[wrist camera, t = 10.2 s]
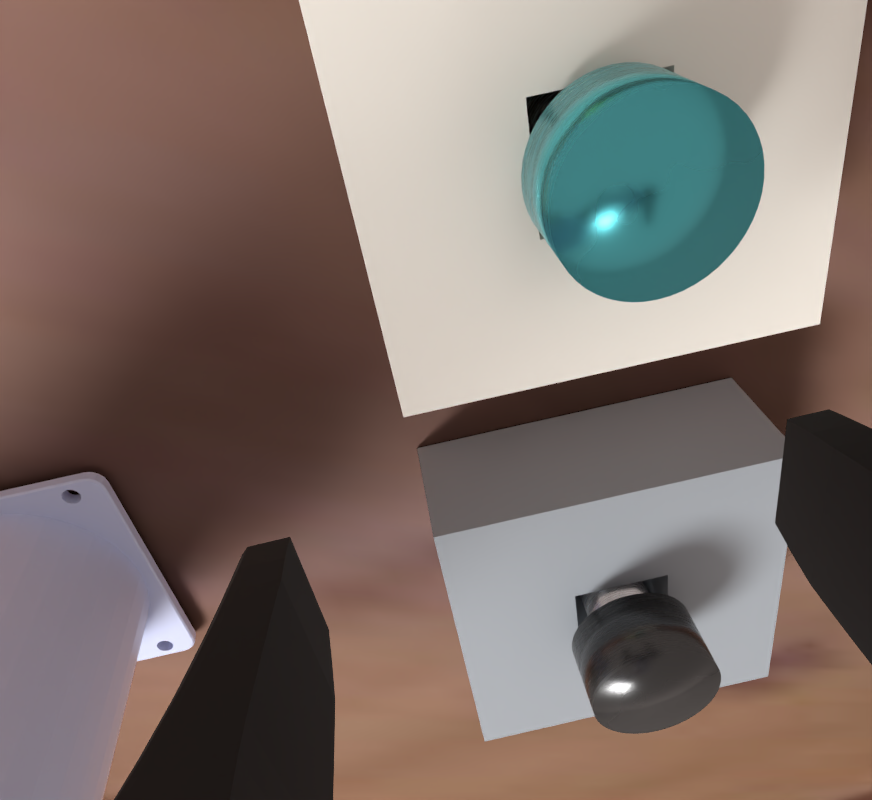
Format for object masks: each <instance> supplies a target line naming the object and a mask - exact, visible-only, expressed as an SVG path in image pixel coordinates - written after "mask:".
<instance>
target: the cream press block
mask: <svg viewBox="0 0 872 800" xmlns="http://www.w3.org/2000/svg"><path fill="white" fill-rule="evenodd" d="M867 1H868V0H299V3H300V7H301V11H302V15H303V19H304V23H305V27H306V31H307V35H308V39H309V43H310V47H311V51H312V55H313V59H314V63H315V67H316V71H317V75H318V79H319V83H320V87H321V91H322V95H323V99H324V103H325V107H326V110H327V114H328V118H329V122H330V126H331V130H332V134H333V138H334V142H335V146H336V150H337V154H338V158H339V162H340V166H341V170H342V174H343V178H344V182H345V186H346V190H347V194H348V198H349V202H350V206H351V210H352V214H353V218H354V222H355V226H356V230H357V234H358V238H359V242H360V246H361V250H362V254H363V258H364V262H365V266H366V270H367V274H368V278H369V282H370V286H371V290H372V294H373V298H374V302H375V306H376V310H377V314H378V318H379V322H380V326H381V330H382V334H383V338H384V342H385V346H386V350H387V354H388V358H389V362H390V366H391V370H392V373H393V377H394V381H395V385H396V389H397V393H398V397H399V401H400V405H401V409H402V413H403V417H408V416H412V415H417V414H421V413H425V412H430V411H434V410H439V409H443V408H448V407H452V406H457V405H461V404H466V403H470V402H475V401H479V400H483V399H488V398H492V397H497V396H501V395H506V394H510V393H515V392H519V391H524V390H528V389H533V388H537V387H541V386H546V385H550V384H555V383H559V382H564V381H568V380H573V379H577V378H582V377H586V376H591V375H595V374H599V373H604V372H608V371H613V370H617V369H622V368H626V367H631V366H635V365H640V364H644V363H649V362H653V361H657V360H662V359H666V358H671V357H675V356H680V355H684V354H689V353H693V352H698V351H702V350H707V349H711V348H715V347H720V346H724V345H729V344H733V343H738V342H742V341H747V340H751V339H756V338H760V337H765V336H769V335H773V334H778V333H782V332H787V331H791V330H796V329H800V328H805V327H809V326H814V325H818V324H820V320H821V313H822V306H823V299H824V293H825V286H826V279H827V272H828V265H829V259H830V252H831V245H832V238H833V232H834V225H835V218H836V211H837V204H838V198H839V191H840V184H841V177H842V170H843V164H844V157H845V150H846V143H847V137H848V130H849V123H850V116H851V109H852V103H853V96H854V89H855V82H856V75H857V69H858V62H859V55H860V48H861V42H862V35H863V28H864V21H865V14H866V8H867ZM624 62H641V63H647V64H652V65H656V66H659V67H662V68H664V69H667V70H669V71H671V72H674V73H676V74H678V75H681V76H683V77H685V78H688V79H690V80H692V81H695V82H697V83H699V84H702V85H704V86H706V87H709V88H711V89H713V90H716V91H718V92H719V93H721V94H723V95H725V96H727V97H728V98H730V99H731V100H732V101H734V102H735V103H736V104H738V105H739V106H740V107H741V109H742V110H743V111H744V112H745V113H746V114H747V115H748V117H749V118H750V120H751V121H752V123H753V125H754V126H755V129H756V131H757V133H758V135H759V138H760V141H761V145H762V149H763V155H764V164H765V166H764V184H763V190H762V195H761V199H760V202H759V206H758V209H757V211H756V214H755V216H754V219H753V221H752V223H751V225H750V227H749V229H748V231H747V233H746V234H745V236H744V237H743V239H742V240H741V242H740V243H739V245H738V246H737V247H736V249H735V250H734V251H733V252H732V253H731V255H730V256H729V257H728V258H727V259H726V260H725V261H724V262H723V263H722V264H721V265H720V266H719V267H718V268H717V269H716V270H714V271H713V272H712V273H711V274H710V275H708V276H707V277H706V278H704V279H703V280H701V281H700V282H698V283H697V284H695V285H693V286H691V287H689V288H688V289H686V290H684V291H682V292H679V293H677V294H674V295H672V296H669V297H665V298H662V299H658V300H653V301H646V302H622V301H616V300H611V299H607V298H604V297H602V296H599V295H596V294H595V293H593V292H591V291H589V290H587V289H586V288H584V287H583V286H582V285H580V284H579V283H578V282H577V281H576V280H575V279H574V278H573V277H572V276H571V275H570V274H569V273H568V272H567V270H566V269H565V267H564V266H563V265H562V263H561V262H560V260H559V259H558V257H557V256H556V255H555V253H554V252H553V250H552V249H551V248H550V246H549V245H548V243H547V242H546V240H545V239H544V238H543V236H542V235H541V233H540V232H539V231H538V229H537V228H536V226H535V225H534V223H533V222H532V220H531V218H530V216H529V214H528V212H527V209H526V206H525V202H524V199H523V193H522V184H521V171H522V162H523V157H524V152H525V148H526V145H527V142H528V139H529V136H530V134H529V124H528V114H527V104H526V97H530V96H535V95H539V94H544V93H548V92H553V91H557V90H562V89H565V88H566V87H567V86H568V85H570V84H571V83H572V82H573V81H575V80H577V79H578V78H580V77H582V76H583V75H585V74H587V73H589V72H591V71H594V70H596V69H598V68H601V67H604V66H608V65H611V64H617V63H624Z"/></svg>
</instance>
